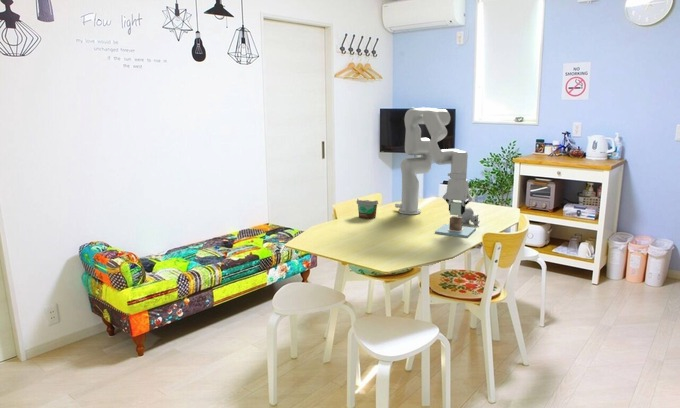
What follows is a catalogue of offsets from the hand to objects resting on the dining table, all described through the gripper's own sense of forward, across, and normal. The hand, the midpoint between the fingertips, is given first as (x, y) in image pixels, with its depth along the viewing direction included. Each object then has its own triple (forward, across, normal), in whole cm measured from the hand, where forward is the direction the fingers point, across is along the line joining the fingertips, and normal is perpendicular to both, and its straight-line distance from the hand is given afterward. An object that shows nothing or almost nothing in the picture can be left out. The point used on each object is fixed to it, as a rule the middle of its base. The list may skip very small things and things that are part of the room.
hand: (456, 212), depth 247 cm
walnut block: (+8, 0, 0) cm, 8 cm away
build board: (+10, 0, 0) cm, 10 cm away
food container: (+10, -51, +3) cm, 52 cm away
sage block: (+1, 0, 0) cm, 1 cm away
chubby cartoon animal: (+10, +2, +19) cm, 21 cm away
